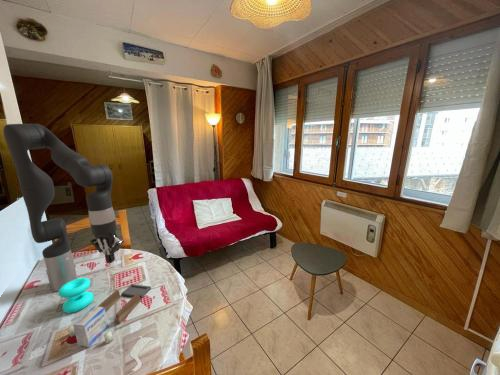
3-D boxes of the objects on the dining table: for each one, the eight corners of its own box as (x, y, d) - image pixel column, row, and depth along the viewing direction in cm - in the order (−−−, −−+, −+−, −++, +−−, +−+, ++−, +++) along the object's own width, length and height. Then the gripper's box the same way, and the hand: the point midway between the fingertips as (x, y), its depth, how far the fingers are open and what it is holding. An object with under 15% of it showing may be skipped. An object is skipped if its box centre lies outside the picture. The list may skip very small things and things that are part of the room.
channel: (94, 319, 77) (92, 310, 76) (117, 297, 87) (116, 290, 87) (120, 323, 75) (118, 314, 74) (140, 301, 85) (139, 293, 84)
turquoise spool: (52, 296, 76) (64, 279, 85) (58, 317, 78) (70, 299, 87) (84, 288, 79) (93, 274, 88) (89, 310, 81) (97, 293, 90)
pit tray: (122, 295, 89) (121, 293, 88) (132, 286, 95) (131, 284, 94) (141, 298, 87) (141, 296, 87) (150, 288, 93) (150, 286, 92)
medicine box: (89, 347, 66) (84, 326, 64) (77, 345, 67) (72, 324, 65) (108, 326, 74) (104, 306, 72) (98, 325, 75) (94, 305, 73)
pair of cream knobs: (68, 336, 70) (66, 329, 70) (74, 331, 72) (72, 324, 72) (109, 344, 67) (107, 337, 66) (114, 338, 69) (112, 331, 68)
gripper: (77, 222, 71) (87, 265, 74) (109, 225, 68) (117, 269, 72) (97, 215, 78) (104, 255, 82) (126, 217, 75) (133, 258, 79)
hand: (110, 261), depth 77 cm, fingers closed
